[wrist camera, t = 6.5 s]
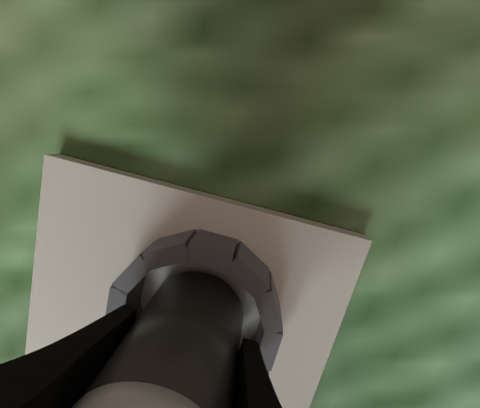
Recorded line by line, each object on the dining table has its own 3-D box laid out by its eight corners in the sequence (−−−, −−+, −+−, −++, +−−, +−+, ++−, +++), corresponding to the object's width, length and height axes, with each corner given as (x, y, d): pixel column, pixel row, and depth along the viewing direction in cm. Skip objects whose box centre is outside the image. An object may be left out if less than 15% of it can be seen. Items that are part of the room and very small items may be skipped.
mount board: (260, 517, 18) (259, 589, 15) (27, 449, 18) (-18, 506, 15) (364, 234, 14) (392, 257, 11) (59, 153, 14) (6, 155, 11)
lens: (230, 364, 14) (197, 577, 7) (143, 337, 14) (30, 524, 7) (256, 286, 13) (246, 453, 6) (162, 258, 13) (48, 391, 6)
